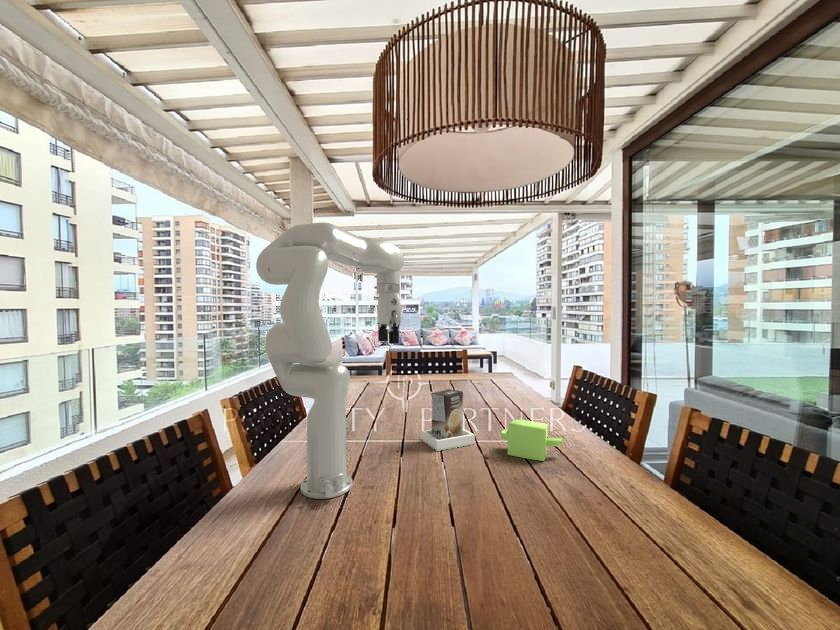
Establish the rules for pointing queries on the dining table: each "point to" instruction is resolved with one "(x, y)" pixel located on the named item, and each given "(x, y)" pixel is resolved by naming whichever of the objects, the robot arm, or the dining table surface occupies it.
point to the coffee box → (447, 414)
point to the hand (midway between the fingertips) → (388, 342)
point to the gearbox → (528, 439)
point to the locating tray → (448, 440)
